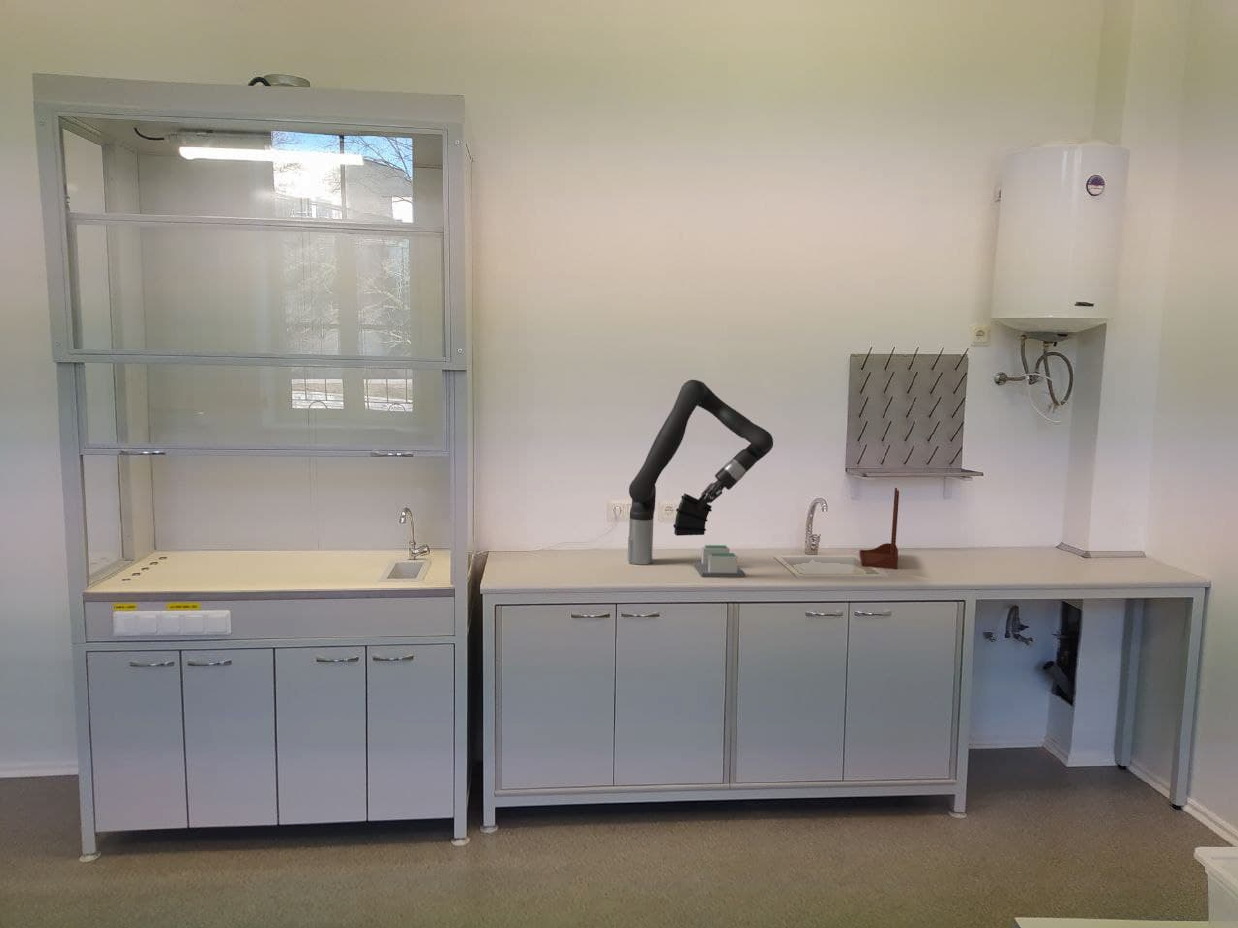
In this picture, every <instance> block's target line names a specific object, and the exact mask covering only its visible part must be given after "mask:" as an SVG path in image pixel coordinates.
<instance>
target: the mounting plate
mask: <svg viewBox="0 0 1238 928" xmlns="http://www.w3.org/2000/svg"><path fill="white" fill-rule="evenodd" d="M738 559H739V558H738V556H737V555H736V554H735V553H734V552H730V548H729V547H728V546H727V545H725V544H724V545H723V544H721V545H720V544H717V545H715V544H714V545H713V544H708V545H707V544H704V546H702V547H701V560H700V561H693V565H692V566H693V567H694V569H695V570H696V571H697V573H698V574H699V576H700V577H701V578H746V572H744V571H743V569H742V568H741V567H740V566H739V565H738Z"/></svg>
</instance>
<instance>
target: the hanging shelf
mask: <svg viewBox="0 0 1238 928" xmlns="http://www.w3.org/2000/svg"><path fill="white" fill-rule="evenodd" d="M893 495H894V497H893V510H892V524H891V525H892V526H891V538H890V539H891V541H890V543H888V542H887V543H882V544H881V545H879V546H877V547H875V548H872V549H859V557H860V562H861V563H860V564H861V567H866V568H877V569H889V570H898V565H899V564H898V563H899V562H898V561H899V549H898V547H897V544H896V543H897V532H898V531H897V528H898V527H897V526H898V518H899V517H898V515H899V501H900V499H899V498H900V491H899V490H898V487H895V488H894V494H893Z"/></svg>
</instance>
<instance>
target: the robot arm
mask: <svg viewBox="0 0 1238 928" xmlns="http://www.w3.org/2000/svg"><path fill="white" fill-rule="evenodd" d="M696 407H699V408H702V409H703V410H705V411H707V412H708V413H710V414H711V415H713V416H714V417H715V418H716V419H717V420H718V421H719V422H720V423H721V424H722V425H724V426H725V427H726V428H727V429H729V430H730V431H731V432H732V433H734V434H735V435H737V436H738V437H739V438H741V439H744V440H746V441H748V442H749V443H750V444H749V445H748V446H747V447H746V448H743V449H742V450H740V451H739V452H738V453H736V455H734V457H733V458H731V459H730V460H729V461H728V462H726V464H724V465H723V466H722V467H721V468H720V469H719V471H717V473H716V474H714V477H715V479H716V481H715V482H710V483H709V484H708V486H707V487H706V488H705V489H704V490H703V491H702V493H701V495H700V497H699V498H698V500H700V502H699V503H698V504H697V505H696V507H697V508H698V509H699V510H701V509H702V508H703V507H704V506H705V505H706V504H712V503H713V502H714V501H715V500H717V499H718V498H719V497H720V496H721V495H722V494H723V490H724V488H725V489H726V490H728V491H729V490H731V489H732V488H733V487H734V486H735V485H736V484H737V483H739V481H740V480H741V479H742V478H743V477H744V476H745V475H746V473H747V472H749V471H750V470H751V469H752V467H754V465H755V464H756V463H758V462H759V461H760V460H762V459H763V458H764V457H765V456H766V455H767V454H768V453H769V452H771V450H772V448H773V447H774V438H773V436H772V434H771V433H770V432H768V430H766V429H765V428H763V427H761V426H759V425H757V424H755V423H754V422H752V421H751V419H749V418H747V417H746V416H744V415H743V414H742V413H741V412H739V411H737V410H736V409H734V408H733V407H731V406H730V405H728V404H727V403H726V402H724V401H723V400H721V398H719V397H718V396H717V395H716V394H715V393H714V392H713V391H712V390H711V389H710V388H709V387H708V386H707V385H706V384H705V382H703V381H700V380H698V379H697V380H696V379H689V380H687V381H686V382H684V383H683V385H682V386H681V388H680V391H679V393H678V394H677V398H676V400H675V402H674V404H673V407H672V409H671V411H670V412H669V414H668V416H667V417H666V419H665V421H664V423H663V424H662V426H661V428H660V430H659V431H658V433H657V435H656V437H655V439H654V441H653V443H652V445H651V447H650V449H649V451H648V454H647V456H646V459H645V461H644V463H643V464H642V467H641V468H640V469H639V471H638V472H637V474H636V476H635V477H634V478H633V480H632V481H631V483H630V484H629V487H628V494H629V497H630V498H631V506H630V510H629V532H628V533H629V534H628V538H627V539H628V540H627V542H628V543H627V562H628V564H629V565H630V564H632V565H643V566H645V565H650V564H653V548H654V547H653V546H654V545H653V544H654V543H653V542H654V514H655V511H656V494H657V491H656V489H657V488H656V483H657V481H658V479H659V477H660V475H661V474H662V472H663V470H665V468H666V467H667V465H668V464H669V463H670V462H671V460H672V459H673V458H674V456H675V454H676V453H677V451H678V450H679V448H680V445H681V444H682V441H683V440H684V436H685V434H686V429H687V425H688V422H689V419H690V418H691V415H693V412H694V411H695V409H696Z"/></svg>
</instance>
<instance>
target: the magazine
mask: <svg viewBox="0 0 1238 928" xmlns="http://www.w3.org/2000/svg"><path fill="white" fill-rule="evenodd" d="M680 498H681V500H680V502H679V505H678V508H675V509H676V510H675V511H676V514H675V515H676V516H675V521H674V523H673V528H674V535H675V536H678V537H679V536H705V534H706V533H705V532H706V531H707V528H706V523H707V522H708V521H709V520H708V516H709V514H710V513H712V511H713V510H712V508H713V506H712V505H710V503H707V504H706V505H705V506H704V507H703V508H702V509H701V510H699V509H698V508H697V507H696V505H697V504H698V503H699V502H700V500H698V499H699V498H698V499H697V498H696V497H694V496H691V495H690V494H687V493H684V494H683V495H681V497H680Z"/></svg>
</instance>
